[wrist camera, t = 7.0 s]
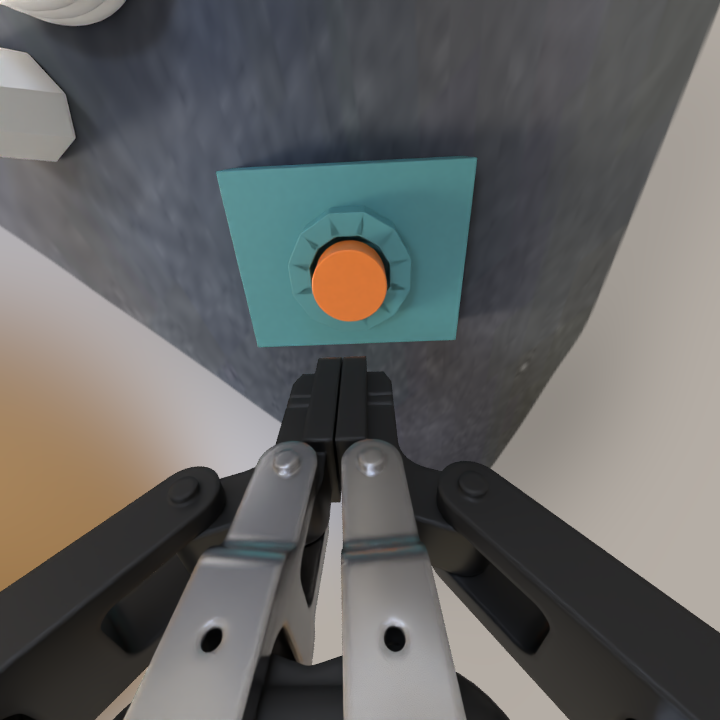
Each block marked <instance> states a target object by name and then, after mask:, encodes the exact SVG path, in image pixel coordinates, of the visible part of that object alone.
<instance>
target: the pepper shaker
mask: <svg viewBox="0 0 720 720" xmlns="http://www.w3.org/2000/svg"><path fill="white" fill-rule="evenodd" d="M75 138H76V136H75V132H74V127H73V123H72V119H71V115H70V110H69V106H68V102H67V98H66V94H65V93H64V92H63V91H62V90H61V89H60V87H59V86H58V85H57V84H56V83H55V82H54V81H53V80H52V79H51V78H50V77H49V76H48V75H47V73H46V72H45V71H44V70H43V69H42V68H41V67H40V66H39V65H38V64H37V63H36V62H35V60H34V59H33V58H32V57H31V56H30V55H29V54H28V53H25V52H20V51H15V50H11V49H6V48H1V47H0V157H7V158H18V159H30V160H42V161H53V162H57V161H58V159H59V158H60V157H61V156H62V155H63V153H64V152H65V151H66V150H67V148H68V147H69V146H70V145H71V143H72V142H73V141H74V140H75Z"/></svg>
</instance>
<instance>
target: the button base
mask: <svg viewBox="0 0 720 720" xmlns="http://www.w3.org/2000/svg"><path fill="white" fill-rule="evenodd" d="M476 165H477V158H476V157H469V156H449V157H430V158H412V159H393V160H375V161H356V162H337V163H319V164H300V165H282V166H263V167H244V168H232V169H226V170H221V171H217V172H216V175H217V179H218V183H219V187H220V191H221V196H222V200H223V204H224V208H225V212H226V216H227V220H228V225H229V229H230V233H231V237H232V241H233V245H234V249H235V254H236V258H237V262H238V266H239V270H240V274H241V278H242V283H243V287H244V291H245V295H246V299H247V303H248V307H249V312H250V316H251V320H252V324H253V328H254V332H255V336H256V341H257V345H258V347H277V346H304V345H330V344H356V343H383V342H409V341H435V340H455V339H456V332H457V324H458V315H459V307H460V298H461V290H462V282H463V273H464V265H465V257H466V248H467V240H468V232H469V223H470V215H471V207H472V198H473V190H474V182H475V173H476ZM344 240H355V241H360V242H363V243H365V244H367V245H369V246H370V247H372V248H373V249H374V250H375V251H376V252H377V253H378V255H379V256H380V258H381V259H382V262H383V264H384V268H385V274H386V279H387V292H386V296H385V299H384V301H383V303H382V305H381V306H380V308H379V309H378V310H377V311H376V312H375V313H373V314H372V315H371V316H369V317H367V318H365V319H362V320H358V321H342V320H338V319H335V318H333V317H331V316H329V315H328V314H327V313H325V312H324V311H323V310H322V309H321V308H320V307H319V305H318V304H317V302H316V300H315V298H314V295H313V291H312V278H313V274H314V271H315V268H316V266H317V263H318V260H319V258H320V256H321V255H322V254H323V252H324V251H325V250H326V249H327V248H328V247H330V246H331V245H333V244H335V243H337V242H340V241H344Z"/></svg>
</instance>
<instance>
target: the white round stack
mask: <svg viewBox="0 0 720 720" xmlns="http://www.w3.org/2000/svg"><path fill="white" fill-rule="evenodd" d="M125 1H126V0H0V4H2V5H5V6H7V7H10V8H12V9H14V10H17V11H20V12H22V13H25V14H28V15H31V16H33V17H35V18H38V19H41V20H43V21H46V22H50V23H54V24H58V25H66V26H81V25H89V24H93V23H96V22H100V21H102V20H104V19H106V18H108V17H109V16H111V15H112V14H113V13H115V12H116V11H117V10H118V9H119V8H120V7H121V6H122V5H123V4H124V3H125Z"/></svg>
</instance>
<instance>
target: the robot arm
mask: <svg viewBox="0 0 720 720" xmlns="http://www.w3.org/2000/svg"><path fill="white" fill-rule="evenodd" d="M341 490H342V520H343V549H342V553H341V586H342V587H341V588H342V646H343V647H342V650H343V655H342V656H340V657H337V658H334V659H331V660H328V661H325V662H322V663H319V664H316V665H312V659H313V650H314V640H315V613H316V605H317V599H318V593H319V587H320V581H321V575H322V570H323V564H324V558H325V552H326V546H327V540H328V534H329V526H328V523H329V517H330V506H331V502H340V501H341ZM431 566H433V568H434V570H435V572H436V573H437V574H438V576H439V577H440V578H441V579H442V580H443V581H444V582H445V584H446V585H447V586H448V587H449V588H450V589H451V590H452V591H453V592H454V593H455V595H456V596H457V597H458V598H459V599H460V600H461V601H462V602H463V603H464V604H465V605H466V607H468V609H469V610H470V611H471V612H472V613H473V614H474V615H475V617H476V618H477V619H478V620H479V621H480V622H481V623H482V624H483V625H484V626H485V628H486V629H487V630H488V631H489V632H490V633H491V634H492V635H493V636H494V637H495V638H496V640H497V641H498V642H499V643H500V644H501V645H502V646H503V647H504V648H505V649H506V651H507V652H508V653H509V654H510V655H511V656H512V657H513V658H514V659H515V660H516V662H518V664H519V665H520V666H521V667H522V668H523V669H524V670H525V671H526V672H527V674H528V675H529V676H530V677H531V678H532V679H533V680H534V681H535V682H536V683H537V684H538V686H539V687H540V688H541V689H542V690H543V691H544V692H545V693H546V694H547V696H549V698H550V699H551V700H552V701H553V702H554V703H555V704H556V705H557V706H558V708H559V709H560V710H561V711H562V712H563V713H564V714H565V715H566V716H567V718H568V719H570V720H720V633H719V632H718V631H716V630H715V629H714V628H712V627H711V626H709V625H708V624H706V623H705V622H704V621H702V620H701V619H700V618H698V617H697V616H695V615H694V614H693V613H691V612H690V611H688V610H687V609H686V608H684V607H683V606H681V605H680V604H679V603H677V602H676V601H674V600H673V599H672V598H670V597H669V596H667V595H666V594H665V593H663V592H662V591H660V590H659V589H658V588H656V587H655V586H654V585H652V584H651V583H649V582H648V581H646V580H645V579H644V578H642V577H641V576H639V575H638V574H637V573H635V572H634V571H633V570H631V569H630V568H628V567H627V566H625V565H624V564H623V563H621V562H620V561H619V560H617V559H616V558H614V557H613V556H612V555H610V554H609V553H607V552H606V551H605V550H603V549H602V548H601V547H599V546H598V545H596V544H595V543H594V542H592V541H591V540H589V539H588V538H586V537H585V536H584V535H582V534H581V533H580V532H578V531H577V530H575V529H574V528H572V527H571V526H570V525H568V524H567V523H565V522H564V521H563V520H561V519H560V518H559V517H557V516H556V515H554V514H553V513H551V512H550V511H549V510H547V509H546V508H544V507H543V506H542V505H541V504H539V503H538V502H536V501H535V500H534V499H532V498H531V497H529V496H528V495H526V494H525V493H523V492H522V491H521V490H520V489H518V488H517V487H515V486H514V485H513V484H511V483H510V482H508V481H507V480H506V479H504V478H503V477H501V476H500V475H499V474H497V473H496V472H494V471H493V470H492V469H490V468H488V467H486V466H484V465H482V464H479V463H476V462H471V461H460V462H455V463H452V464H450V465H448V466H447V467H446V468H445V469H444V470H443V471H438V470H434V469H430V468H426V467H423V466H420V465H418V464H416V463H414V462H412V461H411V460H409V459H408V458H407V457H406V456H405V455H404V454H403V453H402V451H401V450H400V447H399V444H398V438H397V429H396V420H395V411H394V402H393V395H392V384H391V380H390V379H389V378H388V377H387V375H386V374H385V373H384V372H367V361H366V356H364V357H344V358H343V360H342V357H338V358H319V359H318V364H317V368H316V373H315V374H303V375H302V376H301V377H300V378H299V379H298V380H297V381H296V382H295V383H294V384H293V387H292V390H291V394H290V398H289V401H288V404H287V408H286V411H285V414H284V418H283V421H282V424H281V428H280V431H279V435H278V438H277V442H276V445H275V446H273V447H271V448H270V449H268V450H267V451H266V452H265V453H264V454H263V455H262V456H261V458H260V459H259V461H258V463H257V465H256V467H255V468H252V469H250V470H247V471H245V472H242V473H238V474H235V475H231V476H228V477H224V478H221V479H219V477H218V475H217V473H216V472H215V471H214V470H212V469H210V468H208V467H191V468H187V469H185V470H182V471H179V472H177V473H175V474H174V475H172V476H170V477H169V478H167V479H166V480H164V481H163V482H161V483H160V484H159V485H157V486H156V487H154V488H153V489H151V490H150V491H148V492H147V493H145V494H144V495H142V496H141V497H139V498H138V499H136V500H135V501H134V502H132V503H131V504H129V505H128V506H126V507H125V508H123V509H122V510H120V511H119V512H118V513H116V514H114V515H113V516H111V517H110V518H109V519H107V520H106V521H104V522H103V523H101V524H100V525H98V526H97V527H95V528H94V529H92V530H91V531H89V532H88V533H86V534H85V535H83V536H82V537H81V538H79V539H78V540H76V541H75V542H73V543H72V544H70V545H69V546H67V547H66V548H64V549H63V550H61V551H60V552H58V553H57V554H55V555H54V556H53V557H51V558H50V559H48V560H47V561H45V562H44V563H42V564H41V565H40V566H38V567H36V568H35V569H33V570H32V571H30V572H29V573H28V574H26V575H25V576H23V577H22V578H20V579H19V580H17V581H16V582H14V583H13V584H11V585H10V586H8V587H7V588H5V589H4V590H3V591H1V592H0V720H95V719H96V718H97V717H98V716H99V715H100V714H101V713H102V712H103V711H104V710H105V709H106V708H107V707H108V706H109V705H110V704H111V703H112V702H113V701H114V700H115V699H116V698H117V697H118V696H119V695H120V694H121V693H122V692H123V691H124V690H125V689H126V688H127V687H128V686H129V685H130V684H131V683H132V682H133V681H134V680H135V679H136V678H137V677H138V676H139V675H140V674H141V673H142V672H143V671H144V670H145V669H146V668H147V667H148V669H147V671H146V673H145V675H144V677H143V679H142V681H141V683H140V685H139V688H138V690H137V692H136V694H135V696H134V698H133V701H132V702H131V703H130V704H129V705H128V706H127V707H126V708H124V709H123V710H122V711H121V712H120V713H119V714H118V715H117V716H116V717H115V718H114V719H113V720H510V719H509V718H508V717H507V716H506V714H505V713H504V712H503V711H502V710H501V709H500V708H499V707H498V706H497V705H496V703H495V702H493V700H492V699H491V698H490V697H489V696H488V695H486V694H485V693H484V692H483V691H482V690H481V689H480V688H478V687H477V686H476V685H475V684H474V683H472V682H471V681H469V680H468V679H466V678H465V677H463V676H462V675H461V674H459V673H457V672H455V668H454V663H453V659H452V654H451V650H450V646H449V642H448V637H447V633H446V629H445V624H444V620H443V615H442V611H441V607H440V602H439V598H438V593H437V589H436V585H435V580H434V576H433V572H432V567H431ZM153 572H154V573H153Z"/></svg>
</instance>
